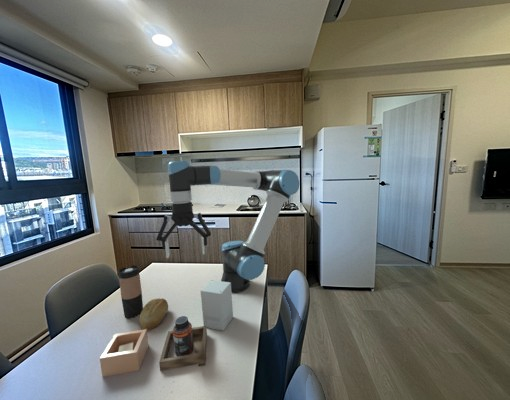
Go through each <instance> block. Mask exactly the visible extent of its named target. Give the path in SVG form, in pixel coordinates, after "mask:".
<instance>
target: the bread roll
mask: <svg viewBox="0 0 510 400" xmlns="http://www.w3.org/2000/svg"><path fill="white" fill-rule="evenodd" d="M168 311H169V304H168V301H167V300H166V299H165V298H160V297H159V298H154V299H150V301H148V302H147V303H146V304H145V305H144V306H143V310H142V312H141V314H140V315H139V320H138V321H139V325H140V328H141V330H144V329H147V331H150V330H153V329H155V328H157V327H158V326H160V325H159V324H160V323H161V322H162V320H163V319H164V318H165V316H166V314H167V313H168Z"/></svg>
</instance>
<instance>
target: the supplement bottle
mask: <svg viewBox="0 0 510 400" xmlns="http://www.w3.org/2000/svg"><path fill="white" fill-rule="evenodd" d="M174 323H175V324H174V326H173V328H172V331H173V337H174V340H173V345H174V352H175V356H176V357H178V356H184V355H190V354H193V351H194V343H193V333H192V328H193V326H192V323H191V322H190V321H189V318H188V316H186V315H181V316H178V317H177V318H176V319H175V321H174Z"/></svg>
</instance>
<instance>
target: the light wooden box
mask: <svg viewBox="0 0 510 400" xmlns="http://www.w3.org/2000/svg"><path fill="white" fill-rule="evenodd" d="M148 338H149V337H148V330H147V329H139V330H138V329H137V330H133V331H132V330H131V331H126V332H120V333H118V332H117V333H114V334H113V336H112V337H111V339H110V340H109V342H108V344H107V346H106V348H105V349H104V351H102V352H103V353H102V354H101V356H100V357H99V363H100V370H101V377H102V378H103V377H109V376H115V375H119V374H120V375H122V374H125V373H131V372H132V373H133V372H136V371H137V372H138V371H140V368H141V366H142V363H143V360H144V359H145V356H146V352H147V350H148V348H149V339H148ZM131 342H133V343H134V350H129V351H123V352H118V351H119V346H122V345H125V344H128V343H131Z"/></svg>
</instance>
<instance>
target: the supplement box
mask: <svg viewBox="0 0 510 400" xmlns="http://www.w3.org/2000/svg"><path fill="white" fill-rule="evenodd" d="M232 294H233V293H232V292H231V282H222V281H221V280H213V279H212V280H211V281H209V283H207V284H206V285H205V286H203V288H202V289H200V298H201V310H202V311H201V312H202V321H203V326H206V328H207V329H208V328H209V329H214V330H218V331H225V329H226V328H227V327H228V325H229V324H230V322H231V321H232V320H233V317H234V310H233V296H232Z"/></svg>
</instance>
